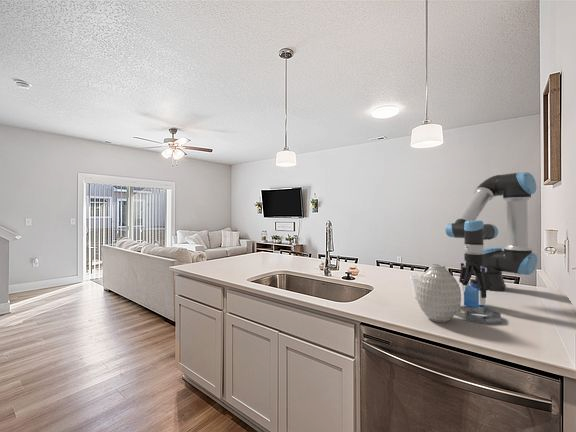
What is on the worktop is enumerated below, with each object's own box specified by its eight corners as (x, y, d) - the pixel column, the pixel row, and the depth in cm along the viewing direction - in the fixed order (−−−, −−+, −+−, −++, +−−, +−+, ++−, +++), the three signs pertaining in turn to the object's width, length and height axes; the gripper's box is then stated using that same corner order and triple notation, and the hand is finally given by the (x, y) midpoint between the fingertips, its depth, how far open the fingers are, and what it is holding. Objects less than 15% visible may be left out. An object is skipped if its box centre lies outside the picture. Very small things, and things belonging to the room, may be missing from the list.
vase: (466, 319, 114) (465, 264, 114) (454, 330, 103) (454, 270, 103) (424, 309, 126) (424, 260, 125) (410, 319, 114) (409, 265, 114)
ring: (478, 309, 125) (478, 303, 125) (510, 322, 110) (510, 315, 110) (447, 311, 123) (447, 304, 123) (475, 324, 108) (475, 317, 108)
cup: (434, 301, 136) (433, 279, 136) (412, 300, 138) (412, 278, 138) (428, 296, 146) (428, 275, 146) (408, 295, 148) (407, 274, 148)
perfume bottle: (478, 308, 126) (478, 282, 126) (464, 305, 132) (463, 279, 131) (484, 305, 130) (484, 280, 130) (469, 302, 135) (469, 277, 135)
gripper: (450, 250, 141) (450, 295, 141) (485, 256, 120) (485, 309, 120) (463, 250, 142) (464, 294, 142) (501, 256, 121) (501, 308, 121)
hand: (474, 301), depth 131 cm, fingers closed on perfume bottle, 8 cm apart
